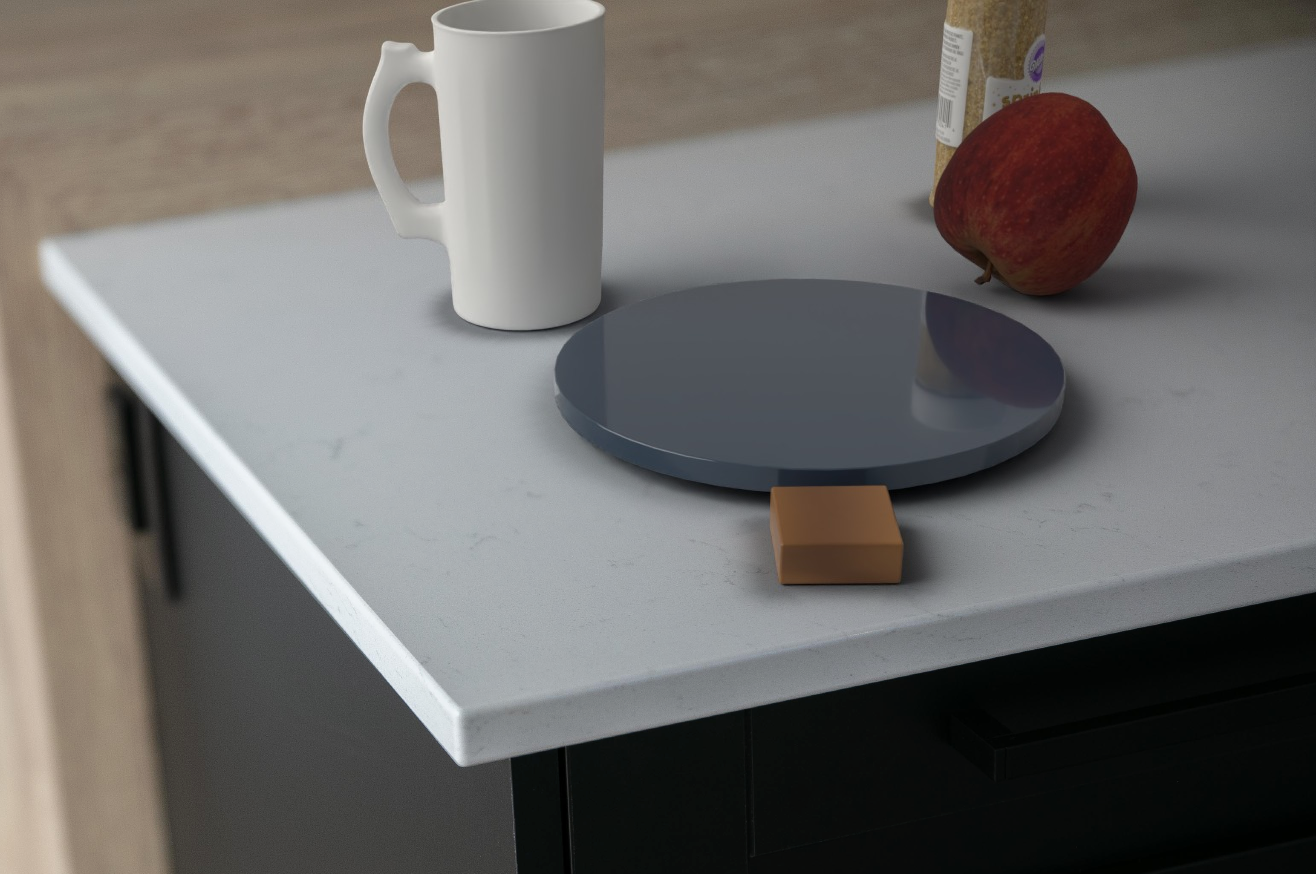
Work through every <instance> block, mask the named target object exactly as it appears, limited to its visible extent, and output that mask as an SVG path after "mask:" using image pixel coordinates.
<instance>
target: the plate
mask: <svg viewBox="0 0 1316 874" xmlns="http://www.w3.org/2000/svg"><path fill="white" fill-rule="evenodd" d="M553 388H554V389H553V390H554V391H553V392H554V399H555V404H556V406H557V408H558V411H559V412H560V415H561V417H562V418H563V420H565V421H566V423H567V424H568V426H569V427H570V428H571V429H572V430H574V431H575V433H577V434H578V435H579V436H580V437H582V438H583V439H584V440H585V441H587V442H589V443H591V444H592V445H593V446H595V447H596V448H598V449H600V450H602V451H604V452H605V453H607V454H610V455H612V456H614V457H616V458H617V459H619V460H620V459H621V460H622V461H624V462H627V463H629V464H632V465H635V466H638V467H640V468H644V469H646V470H649V471H653V472H655V473H659V474H664V475H667V476H670V477H674V478H678V479H681V480H685V481H691V482H696V483H700V484H706V485H711V486H716V487H723V488H731V489H739V490H745V491H754V492H767V493H771V489H772V487H805V486H887V489H888V491H891V490H901V489H906V488H912V487H913V488H914V487H918V486H925V485H931V484H936V483H940V482H945V481H948V480H952V479H953V480H954V479H956V478H961V477H965V476H968V475H971V474H973V473H977V472H980V471H984V470H985V469H989V468H992V467H994V466H997V465H999V464H1002V463H1003V462H1006V461H1008V460H1011V459H1012V458H1015V457H1017V456H1018V455H1020V454H1022V453H1023V452H1025V451H1026V450H1028V449H1029V448H1032V447H1033V446H1035V445H1036V444H1037V443H1038V442H1039V441H1040V440H1041V439H1043V438H1044V437H1045V436H1046V435H1047V434H1048V433H1049V432H1050V431H1051V430H1052V428H1053V427H1054V425H1055V424H1056V423H1057V421H1058V420H1059V418H1060V415H1061V412H1062V409H1063V406H1064V400H1065V393H1066V392H1065V391H1066V370H1065V367H1064V365H1063V362H1062V359H1061V357H1060V356H1059V354H1058V352H1056V350H1055V348H1054V347H1053V346H1052V345H1051V344H1050V343H1049V342H1048V341H1046V339H1044V338H1043V337H1042V336H1041V335H1040V334H1039V333H1037V332H1036V331H1034V330H1032V329H1031V328H1030V327H1027V325H1025V324H1023V323H1022V322H1019V321H1017V320H1016V319H1013V317H1012V318H1011V317H1009V316H1007V315H1005V314H1003V313H1001V312H998V311H996V310H994V309H991V308H988V307H986V306H984V305H981V304H978V303H975V302H971V301H968V300H964V299H961V298H958V297H956V296H950V295H947V294H942V293H937V292H933V291H930V290H929V291H928V290H924V289H919V288H913V287H908V286H902V285H895V284H889V283H880V282H879V283H878V282H873V281H861V280H849V279H833V278H832V279H831V278H829V279H828V278H771V279H752V280H741V281H731V282H722V283H714V284H709V285H708V284H707V285H702V286H696V287H695V286H694V287H690V288H685V289H680V290H675V291H670V292H666V293H662V294H658V295H654V296H651V297H647V298H644V299H641V300H637V301H635V302H631V303H628V304H626V305H623V306H620V307H619V308H616V309H613V310H612V311H609V312H607V313H604V314H603V315H601V316H599V317H598V318H595V319H594V320H592V321H590V322H589V323H587V324H586V325H584V326H583V327H581V328H580V329H579V330H577V331H576V332H574V333H573V334H572V335H571V336H570V338H569V339H568V340H567V341H566V342H565V343H564V344H563V345H562V347H561V348H560V350H559V352H558V354H557V355H556V358H555V362H554V367H553Z"/></svg>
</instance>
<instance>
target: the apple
mask: <svg viewBox="0 0 1316 874" xmlns="http://www.w3.org/2000/svg"><path fill="white" fill-rule="evenodd" d="M1138 189H1139V177H1138V173H1137V169H1136V165H1135V163H1134V161H1133V158H1132V156H1131V154H1130V151H1129V150H1128V147H1126V145H1125V144H1124V143H1123V142H1122V141H1121V139H1120V138H1119V137H1118V136H1117V134H1116V132H1115V131H1114V129H1113V128H1112V126H1111V125H1110V123H1109V121H1108V120H1107V119H1106V117H1105V116H1104V115H1103V113H1101V111H1100V110H1099V109H1098V108H1097V107H1095V106H1094V105H1093V104H1092V103H1090V102H1089V101H1087V100H1085V99H1083V98H1081V97H1079V96H1076V95H1071V94H1069V93H1065V92H1060V91H1059V92H1057V91H1049V92H1042V93H1041V92H1040V94H1036V95H1032V96H1029V97H1026V98H1023V99H1021V100H1018V101H1015V102H1013V103H1011V104H1009V105H1007V106H1005V107H1004V108H1002V109H1000V110H999V111H997V112H996V113H994V114H992V115H991V116H990V117H988V118H987V119H985V120H984V121H983V122H982V123H980V124H979V125H978V126H977V127H976V128H975V129H974V130H973V131H972V132H970V133H969V134H968V135H967V137H966V138H965V139H964V140H963V141H962V143H961V144H960V145H959V146H958V148H957V149H956V151H955V153H954V154H953V156H952V158H951V159H950V161H949V163H948V164H947V166H946V168H945V169H944V171H943V173H942V175H941V177H940V179H939V182H938V184H937V187H936V191H935V196H934V204H933V207H932V209H933V218H934V223H935V227H936V228H937V231H938V233H939V234H940V236H941V238H942V239H943V240H944V241H945V243H946V244H947V245H948V246H950V248H952V249H953V251H955V252H956V253H958V254H959V255H961V256H962V257H963V258H964V259H966V260H967V261H968V262H971V263H972V264H974V265H975V266H977V267H978V268H980V270H982V271H984V272H983V273H982V275H980V276H977V278H976V279H974V280H973V281H974V283H975V284H976V285H978V286H983V285H984V284H986V283H990V282H991V280H992V277H993V278H995V279H996V280H998V281H999V282H1001V283H1002V284H1004V285H1006V286H1008V287H1010V288H1011V289H1013V290H1015V291H1017V292H1018V293H1021V294H1025V295H1028V296H1029V295H1030V296H1051V295H1057V294H1061V293H1064V292H1067V291H1069V290H1072V289H1074V288H1075V287H1078V286H1079V285H1080V284H1082V283H1084V282H1085V281H1086V280H1088V279H1089V278H1090V277H1091V276H1093V275H1094V274H1095V273H1096V272H1097V271H1098V270H1099V269H1101V267H1102V266H1103V265H1104V264H1105V263H1106V261H1107V260H1108V259H1109V258H1110V257H1111V255H1112V253H1113V252H1114V251H1115V249H1116V248H1117V246H1118V244H1119V243H1120V241H1121V239H1122V237H1123V235H1124V233H1125V231H1126V229H1127V227H1128V224H1129V222H1130V220H1131V217H1132V215H1133V213H1134V209H1135V206H1136V202H1137V198H1138V191H1139V190H1138Z"/></svg>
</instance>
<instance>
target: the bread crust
mask: <svg viewBox="0 0 1316 874" xmlns="http://www.w3.org/2000/svg"><path fill="white" fill-rule="evenodd" d="M769 506H770V507H769V529H770V536H771V542H772V547H773V553H774V560H775V561H774V562H775V566H776V573H777V579H778V582H779V584H781V585H809V584H810V585H813V584H814V585H820V584H821V585H825V584H826V585H827V584H828V585H829V584H899V583H901V581H902V573H903V572H902V571H903V559H904V545H905V543H904V540H903V537H902V534H901V531H900V527H899V524H898V519H897V516H896V513H895V510H894V507H893V503H892V499H891V496H890V493H889V490H888V489H887V486H805V487H772V489H771V492H770V503H769Z"/></svg>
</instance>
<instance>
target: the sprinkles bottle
mask: <svg viewBox="0 0 1316 874" xmlns="http://www.w3.org/2000/svg"><path fill="white" fill-rule="evenodd" d="M1048 6H1049V0H947V8H946V14H945V15H946V17H945V20H944V22H943V35H942V47H941V61H940V72H939V86H938V95H937V96H938V97H937V109H936V121H935V135H934V136H935V138H936V146H935V147H936V148H935V163H934V171H933V174H934V175H933V183H932V184H933V185H932V189H931V191H930V194H929V197H928V201H929V205H930V207H932V208H933V204H934V196H935V191H936V187H937V184H938V182H939V179H940V177H941V175H942V173H943V171H944V169H945V168H946V166H947V164H948V163H949V161H950V159H951V158H952V156H953V154H954V153H955V151H956V149H957V148H958V146H959V145H960V144H961V143H962V141H963V140H964V139H965V138H966V137H967V135H968V134H969V133H970V132H972V131H973V130H974V129H975V128H976V127H977V126H978V125H979V124H980V123H982V122H983V121H984V120H985V119H987V118H988V117H990V116H991V115H992V114H994V113H996V112H997V111H999V110H1000V109H1002V108H1004V107H1005V106H1007V105H1009V104H1011V103H1013V102H1015V101H1018V100H1021V99H1023V98H1026V97H1029V96H1032V95H1036V94H1041V88H1042V78H1043V68H1044V59H1045V49H1046V25H1047V24H1046V23H1047V15H1048Z"/></svg>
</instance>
